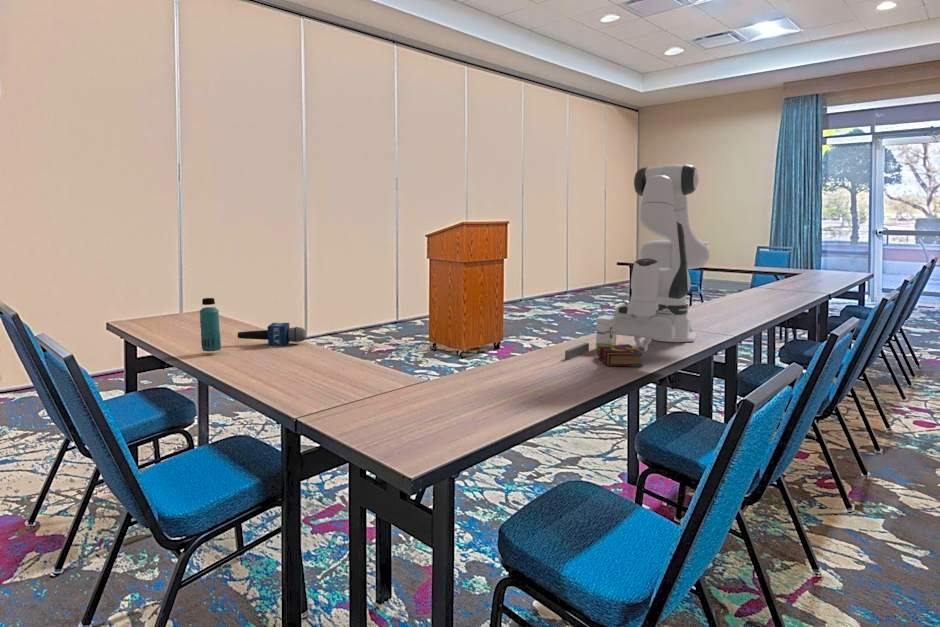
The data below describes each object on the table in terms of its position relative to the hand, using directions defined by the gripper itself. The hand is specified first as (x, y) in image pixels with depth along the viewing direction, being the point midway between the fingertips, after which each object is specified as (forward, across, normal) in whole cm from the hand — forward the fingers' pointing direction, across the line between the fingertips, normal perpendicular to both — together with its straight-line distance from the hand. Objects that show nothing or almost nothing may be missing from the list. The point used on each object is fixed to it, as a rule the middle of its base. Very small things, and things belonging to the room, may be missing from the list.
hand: (642, 350), depth 207 cm
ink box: (+5, +19, -17) cm, 26 cm away
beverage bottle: (+5, +131, +71) cm, 149 cm away
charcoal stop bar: (+5, +23, 0) cm, 24 cm away
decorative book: (+5, +8, +1) cm, 9 cm away
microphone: (+5, +127, +49) cm, 136 cm away
